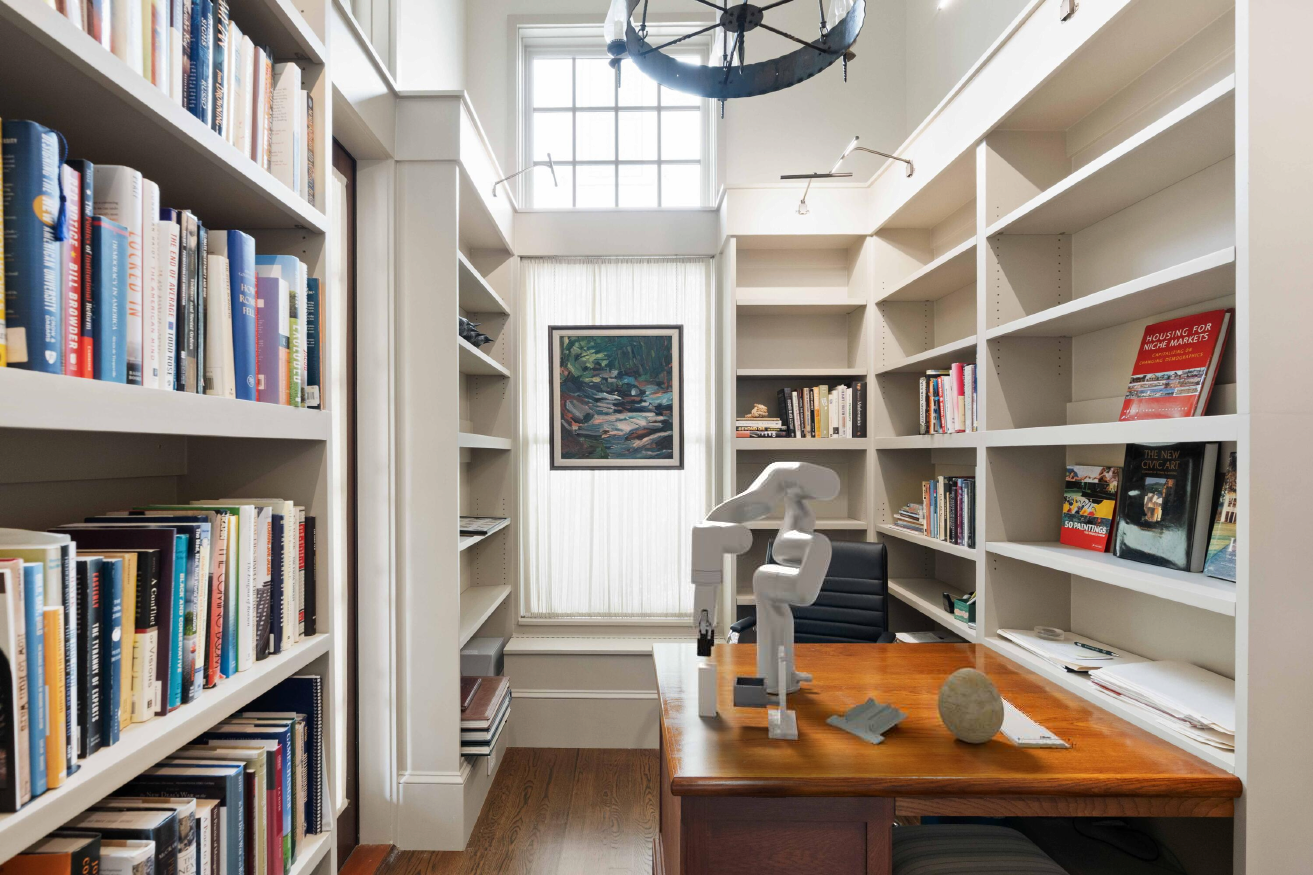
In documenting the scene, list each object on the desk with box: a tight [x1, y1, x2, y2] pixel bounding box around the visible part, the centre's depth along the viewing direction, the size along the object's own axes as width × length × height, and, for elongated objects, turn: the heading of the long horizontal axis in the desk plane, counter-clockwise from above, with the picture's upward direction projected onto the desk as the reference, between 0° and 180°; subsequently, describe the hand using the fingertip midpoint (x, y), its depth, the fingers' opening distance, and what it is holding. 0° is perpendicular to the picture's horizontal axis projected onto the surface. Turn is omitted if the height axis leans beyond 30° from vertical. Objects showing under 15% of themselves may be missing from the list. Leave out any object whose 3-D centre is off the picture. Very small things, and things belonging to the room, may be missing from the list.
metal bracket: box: [826, 697, 908, 745], centre depth 154 cm, size 14×6×15 cm
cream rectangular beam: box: [697, 662, 718, 717], centre depth 163 cm, size 4×4×11 cm
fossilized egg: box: [937, 667, 1004, 744], centre depth 147 cm, size 13×13×15 cm
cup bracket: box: [732, 645, 799, 740], centre depth 155 cm, size 14×14×16 cm
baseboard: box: [999, 696, 1077, 749], centre depth 158 cm, size 31×3×12 cm
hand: (705, 650), depth 163 cm, fingers open, 9 cm apart
